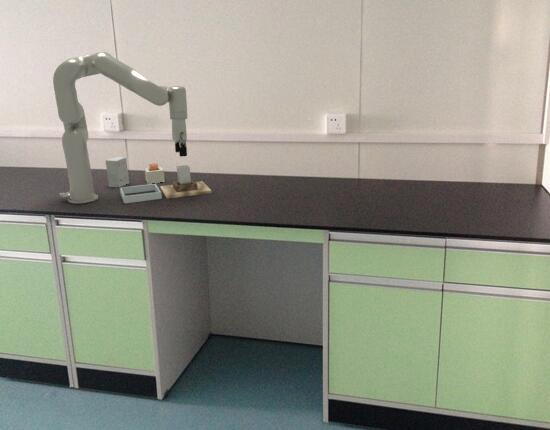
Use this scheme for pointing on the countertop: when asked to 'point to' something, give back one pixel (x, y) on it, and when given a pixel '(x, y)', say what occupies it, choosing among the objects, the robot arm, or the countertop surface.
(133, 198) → the tote tray
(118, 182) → the small box
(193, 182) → the plate
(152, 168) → the button
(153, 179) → the button post
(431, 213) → the countertop surface
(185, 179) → the block
